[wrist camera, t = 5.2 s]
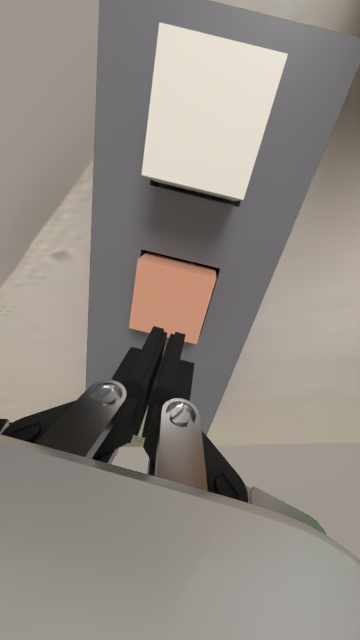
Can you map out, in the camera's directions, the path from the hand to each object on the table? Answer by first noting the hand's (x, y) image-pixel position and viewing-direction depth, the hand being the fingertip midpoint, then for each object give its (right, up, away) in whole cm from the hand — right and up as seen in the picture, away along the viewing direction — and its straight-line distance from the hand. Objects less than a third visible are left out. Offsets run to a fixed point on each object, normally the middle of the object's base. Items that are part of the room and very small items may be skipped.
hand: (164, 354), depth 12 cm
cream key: (+3, +13, +4) cm, 14 cm away
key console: (+1, +5, +11) cm, 12 cm away
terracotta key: (+1, +5, +10) cm, 11 cm away
